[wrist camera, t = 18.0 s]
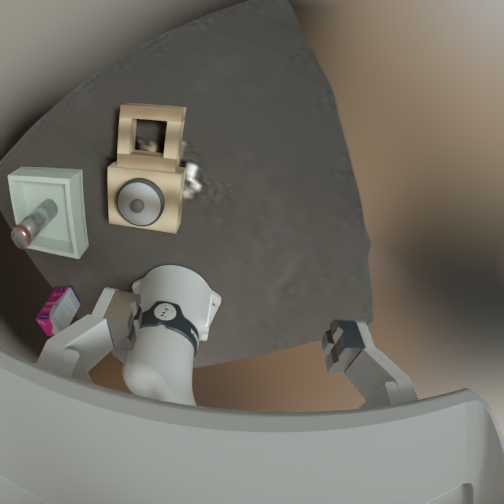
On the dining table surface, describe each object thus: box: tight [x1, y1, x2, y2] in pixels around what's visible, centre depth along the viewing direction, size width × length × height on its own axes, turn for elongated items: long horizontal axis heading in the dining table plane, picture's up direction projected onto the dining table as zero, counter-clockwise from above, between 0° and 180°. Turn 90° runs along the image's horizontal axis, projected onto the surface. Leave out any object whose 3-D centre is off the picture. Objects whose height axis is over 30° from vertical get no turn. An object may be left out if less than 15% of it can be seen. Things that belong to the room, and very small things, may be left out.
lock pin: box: [11, 199, 58, 249], centre depth 38 cm, size 4×4×11 cm
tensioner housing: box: [108, 103, 186, 233], centre depth 39 cm, size 20×12×6 cm, turn 168°
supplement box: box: [36, 286, 81, 336], centre depth 52 cm, size 6×6×12 cm
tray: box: [8, 167, 89, 259], centre depth 42 cm, size 16×16×4 cm
